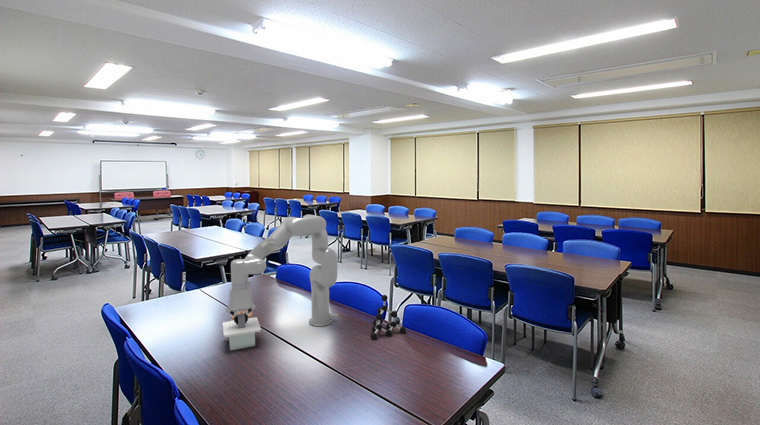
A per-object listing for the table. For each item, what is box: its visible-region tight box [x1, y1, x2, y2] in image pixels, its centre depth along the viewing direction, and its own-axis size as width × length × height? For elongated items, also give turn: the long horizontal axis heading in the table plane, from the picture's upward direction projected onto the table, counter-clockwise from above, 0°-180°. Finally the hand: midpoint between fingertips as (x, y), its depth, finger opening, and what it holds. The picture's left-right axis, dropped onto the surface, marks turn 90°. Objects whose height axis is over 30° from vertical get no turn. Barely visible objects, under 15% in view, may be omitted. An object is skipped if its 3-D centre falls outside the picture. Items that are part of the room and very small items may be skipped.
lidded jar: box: [230, 310, 253, 321], centre depth 195 cm, size 11×11×9 cm
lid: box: [222, 313, 262, 338], centre depth 178 cm, size 16×16×6 cm
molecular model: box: [370, 294, 407, 340], centre depth 190 cm, size 18×20×20 cm
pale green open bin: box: [228, 332, 256, 351], centre depth 178 cm, size 11×11×7 cm
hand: (241, 322), depth 178 cm, fingers open, 3 cm apart
